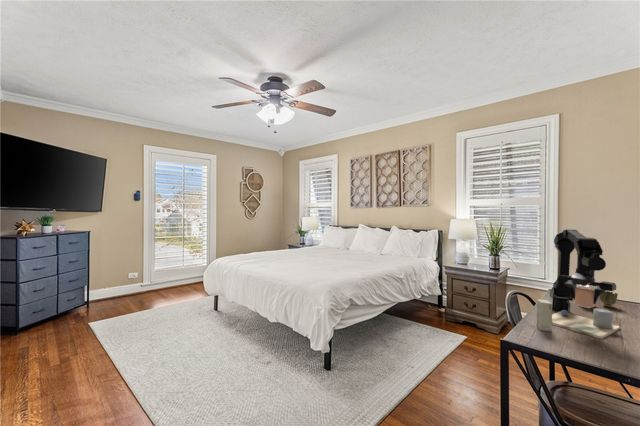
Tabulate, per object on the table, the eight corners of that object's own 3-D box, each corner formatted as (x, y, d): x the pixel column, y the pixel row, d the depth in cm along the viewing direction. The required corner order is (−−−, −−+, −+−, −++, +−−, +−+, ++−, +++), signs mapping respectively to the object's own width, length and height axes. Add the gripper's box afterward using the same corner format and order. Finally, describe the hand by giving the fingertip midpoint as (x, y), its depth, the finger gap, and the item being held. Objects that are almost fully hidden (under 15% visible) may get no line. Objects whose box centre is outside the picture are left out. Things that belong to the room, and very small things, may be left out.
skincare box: (552, 332, 128) (553, 304, 127) (539, 330, 129) (540, 302, 129) (547, 326, 133) (548, 300, 133) (536, 324, 135) (537, 298, 135)
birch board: (540, 320, 140) (540, 318, 140) (560, 313, 152) (560, 310, 151) (602, 339, 121) (602, 336, 121) (620, 328, 133) (620, 326, 133)
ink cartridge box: (584, 303, 168) (585, 278, 167) (595, 306, 163) (596, 280, 163) (577, 305, 164) (578, 279, 163) (588, 308, 159) (589, 281, 159)
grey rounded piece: (590, 325, 134) (591, 309, 133) (595, 322, 137) (596, 307, 137) (609, 330, 128) (610, 314, 128) (614, 327, 131) (615, 312, 131)
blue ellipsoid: (559, 315, 145) (559, 309, 145) (562, 314, 147) (562, 308, 146) (567, 317, 142) (567, 311, 142) (569, 316, 144) (569, 310, 144)
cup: (594, 304, 167) (595, 290, 167) (606, 304, 168) (607, 290, 167) (608, 308, 159) (609, 294, 159) (621, 308, 160) (621, 294, 160)
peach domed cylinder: (578, 301, 134) (578, 286, 134) (596, 305, 128) (597, 289, 128) (572, 303, 131) (573, 288, 130) (591, 307, 125) (591, 291, 125)
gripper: (552, 264, 133) (551, 298, 133) (608, 272, 117) (607, 311, 117) (562, 262, 139) (561, 295, 139) (617, 269, 123) (616, 307, 123)
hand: (584, 301), depth 129 cm, fingers closed on peach domed cylinder, 6 cm apart
